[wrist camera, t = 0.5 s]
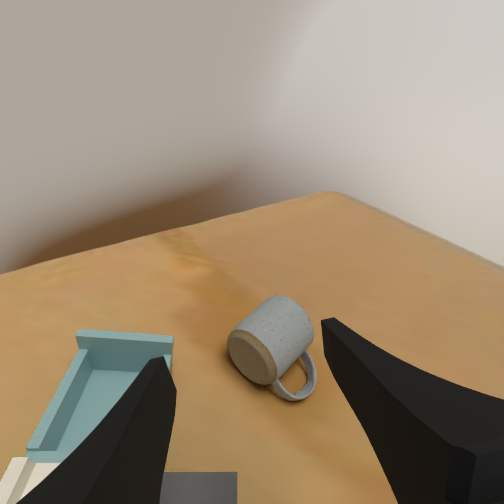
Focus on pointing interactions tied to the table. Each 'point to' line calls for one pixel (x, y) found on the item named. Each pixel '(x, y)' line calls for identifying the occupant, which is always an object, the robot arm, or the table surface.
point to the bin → (93, 388)
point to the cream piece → (172, 490)
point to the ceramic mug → (274, 344)
